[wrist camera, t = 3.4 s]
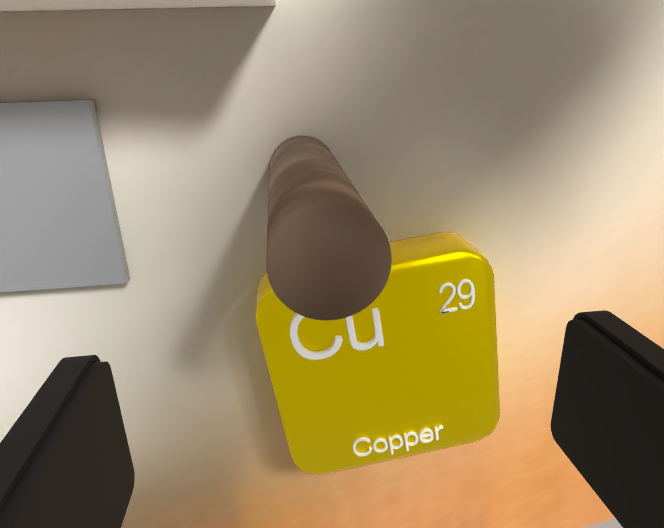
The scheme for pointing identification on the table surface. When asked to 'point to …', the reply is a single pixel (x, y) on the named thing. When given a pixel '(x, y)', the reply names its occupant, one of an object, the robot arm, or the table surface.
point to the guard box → (122, 4)
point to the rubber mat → (56, 199)
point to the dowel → (321, 235)
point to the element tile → (389, 362)
